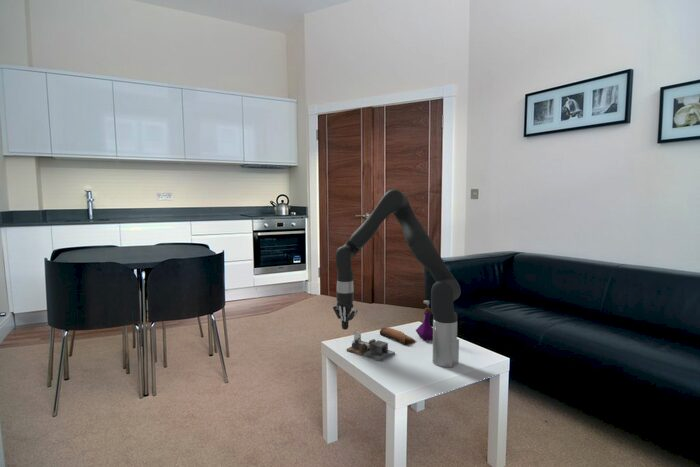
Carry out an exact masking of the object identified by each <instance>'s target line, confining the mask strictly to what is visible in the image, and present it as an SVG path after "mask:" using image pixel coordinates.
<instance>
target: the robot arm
mask: <svg viewBox="0 0 700 467" xmlns="http://www.w3.org/2000/svg"><path fill="white" fill-rule="evenodd" d="M391 214H393V216H394V217H395V218H396V220H397V222H398V223H399V225H400V226H401V229H402V233H403V236H404V239H405V243H406V244H407V247H408V248H409V251H410V252H411V254H412V255H413V257H414V258H415V259H416V260H417V261H418V262H419V263H420V264H421V265H422V266H423V267H424V268H425V269H426V270H427V271H428V272H429V273H430V274H431V276H432V278H433V280H434V281H435V282H434V283H433V284H432V287H431V291H430V307H431V312H432V314H431V315H432V317H433V318H432V328H433V339H432V363H433V364H434V365H436V366H439V367H441V368H442V367H445V368H446V367H447V368H453V367H455V366H457V365H458V364H460V363H459V360H460V358H459V357H460V339H459V338H458V314H457V312H455V309H454V308H455V306H454V304H455V303H454V301H456V300H458V299H459V297H460V295H461V286H460V284H459V282H458V281H457V279H456V278H455V277H454V275H453V274H452V272H451V271H450V270H449V268H448V267H447V265H446V264H445V262H444V260H443V258H442V257H441V255H440V254H439V252H438V250H437V248H436V246H435V245H434V243H433V241H432V239H431V237H430V236H429V234H428V232H426V230H425V228H424V227H423V225H422V223H421V222H420V221H419V220H418V218H417V217H416V215H415V213H414V211H413V208H412V207H411V204H410V202H409V199H408V197H407V196H406V194H404V193H403V192H401V191H400V190H397V189H393V188H392V189H389V190H388V191H386V193H384V195H383V196H382V197H381V199H380V201H379V202H378V203H377V205H376V206H375V207H374V209H373V210H372V212H371V213H370V214H369V215H368V217H367V218H366V219H365V221H364V222H363V223H362V224H361V225H360V226H359V227H358V228H357V229H356V230H355V231H354V232H353V233H352V234H351V236H350V237H349V239H348V240H347V241H346V242H345V243H344V244H343V245H342V246H340V247H338V248H337V249H336V251H335V265H336V266H335V267H336V270H337V271H336V272H337V274H336V275H337V276H336V278H337V279H336V305H334V306H333V307H332V310H333V312H334V313H335V315H336V317H337V318H338V319H339V320H340V321H341V329H342V330H344V331H345V330H348V329H349V321H352V320H353V319H354V317H356V315H357V313H358V310H357V309H355V308H354V304H353V302H354V300H355V299H354V298H355V297H354V293H355V292H354V270H353V268H352V259H354V257H355V256H356V255H357V254H358V253H359V251H360V250H361V249H362V248H363V247H364V246H365V245H366V244H367V243H368V242H369V241H371V239H372V238H373V236H375V234H376V233H377V231H378V229H379V228H380V226H381V224H382V223H383V221H385V219H387V217H388V216H391Z"/></svg>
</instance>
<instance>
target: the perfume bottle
mask: <svg viewBox="0 0 700 467" xmlns="http://www.w3.org/2000/svg"><path fill="white" fill-rule="evenodd" d="M422 302H423V304H424V305H426V306H427V307H425V308H424V311H423V314H424V315H425V316H424V319H423V322H422V323H421V324H420V325H419V326H418V327H417V328H416V329H415V333H417V335H418V336H419V338H420V339H421V340H422V341H433V325H431V323H430V317H431V315H433V314H432V311H431V308H430V307H429V305H430V300H423V301H422Z"/></svg>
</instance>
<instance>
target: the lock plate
mask: <svg viewBox="0 0 700 467" xmlns="http://www.w3.org/2000/svg"><path fill="white" fill-rule="evenodd" d="M361 342H364V343H367V344H370V349H368V350H366V344H364V343H363V344H361V345H359V344H356V343H351V346H350V347H347V348H346V352H349V353H353V354H355V355H358V356H363V357H365V358H368V359H372V360H375V361H378V362H383V361H385V360H387V359H389V358H391V357H392V356H395V354H396V353H395V351H393V350H390V349H389V343H388V342H386V341H383V340H376V339H374V338H372V339H369V340H368V342H366V341H363V340H361Z"/></svg>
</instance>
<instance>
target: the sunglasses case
mask: <svg viewBox="0 0 700 467" xmlns="http://www.w3.org/2000/svg"><path fill="white" fill-rule="evenodd" d="M379 335H381V336H384V337H388V338H390V339H392V340H395V341H396V342H399V343H401V344H403V345H404V346H407V345H411V344H414V343H417V340H415V339H414V338H413V337H411V336H410V335H407V334H405V333H404V332H402V331H400V330H397V329H395V328H391V327H382V328H380V330H379Z"/></svg>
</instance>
